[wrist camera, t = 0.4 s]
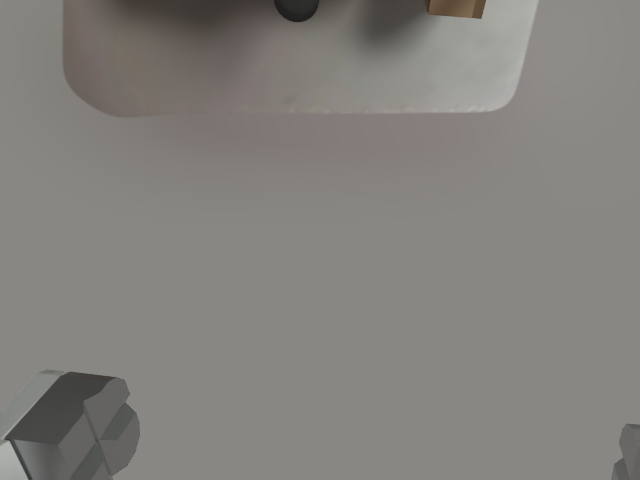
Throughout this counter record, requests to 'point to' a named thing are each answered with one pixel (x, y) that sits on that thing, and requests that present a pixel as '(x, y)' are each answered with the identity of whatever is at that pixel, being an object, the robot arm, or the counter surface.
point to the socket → (456, 8)
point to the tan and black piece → (297, 9)
